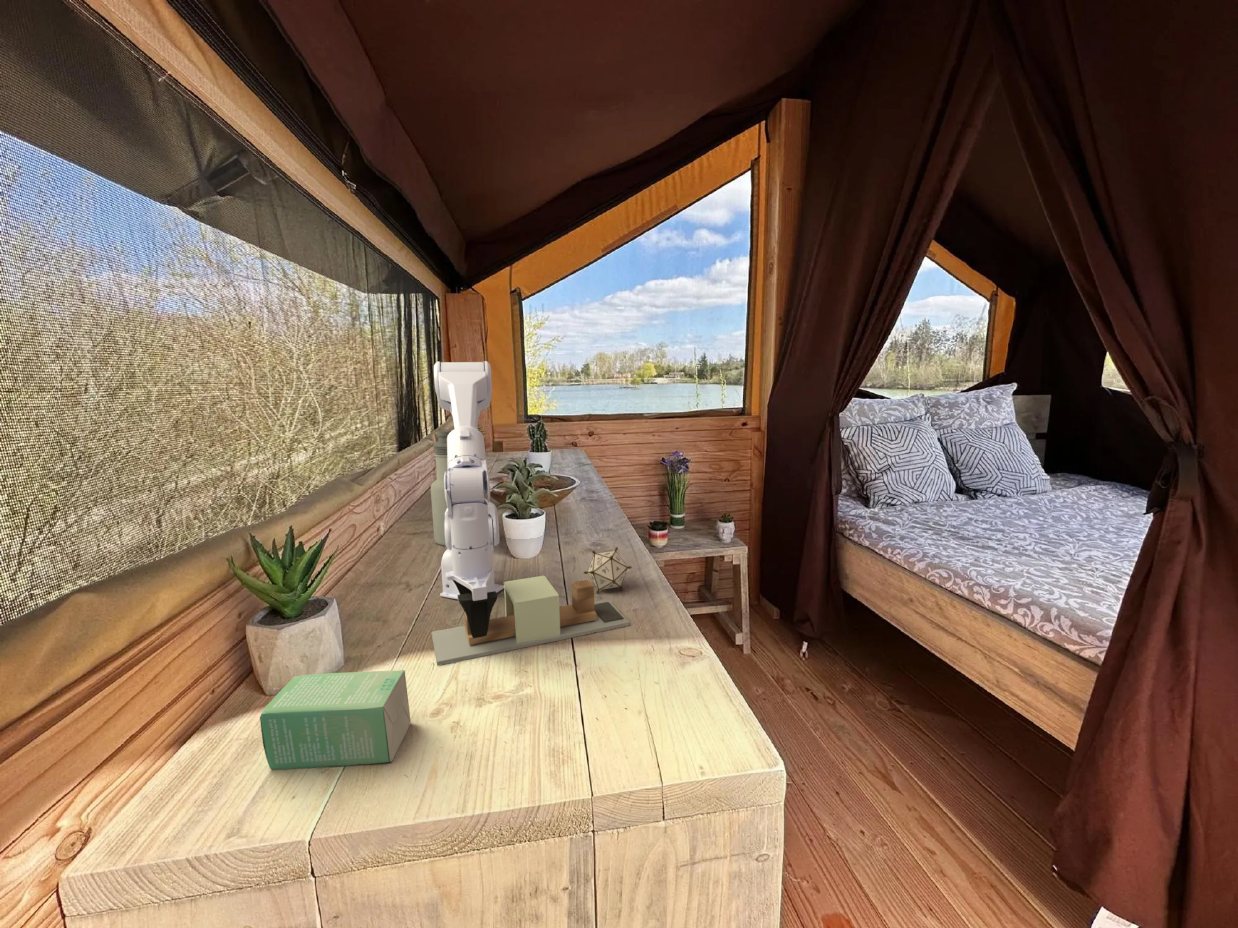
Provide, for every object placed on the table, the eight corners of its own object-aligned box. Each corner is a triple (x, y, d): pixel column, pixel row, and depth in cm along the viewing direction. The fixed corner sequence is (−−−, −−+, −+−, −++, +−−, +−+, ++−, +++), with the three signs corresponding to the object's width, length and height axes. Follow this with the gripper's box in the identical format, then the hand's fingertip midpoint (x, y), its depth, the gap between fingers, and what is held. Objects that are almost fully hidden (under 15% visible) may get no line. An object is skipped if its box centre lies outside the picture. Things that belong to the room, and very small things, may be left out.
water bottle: (445, 533, 143) (438, 427, 138) (481, 534, 142) (475, 427, 137) (427, 546, 133) (418, 432, 128) (465, 547, 132) (458, 432, 127)
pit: (604, 622, 92) (604, 621, 91) (590, 606, 98) (590, 605, 98) (623, 618, 93) (623, 617, 93) (608, 602, 99) (608, 601, 99)
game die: (614, 610, 106) (624, 583, 99) (574, 592, 107) (581, 564, 100) (630, 574, 112) (640, 547, 105) (592, 558, 113) (600, 529, 106)
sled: (469, 645, 84) (467, 610, 83) (465, 630, 89) (462, 597, 88) (596, 619, 92) (596, 588, 91) (586, 607, 97) (586, 577, 95)
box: (299, 727, 67) (292, 671, 65) (411, 722, 67) (407, 667, 66) (264, 771, 59) (255, 710, 58) (391, 766, 60) (385, 705, 59)
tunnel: (517, 647, 85) (515, 602, 84) (505, 622, 93) (503, 581, 92) (560, 638, 88) (559, 595, 86) (545, 615, 96) (544, 575, 94)
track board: (437, 665, 80) (436, 661, 80) (431, 635, 89) (431, 631, 89) (629, 625, 92) (629, 622, 92) (607, 602, 101) (607, 599, 101)
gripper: (439, 533, 89) (445, 611, 92) (448, 562, 76) (454, 652, 78) (483, 528, 92) (487, 603, 94) (499, 555, 79) (503, 642, 81)
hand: (475, 625), depth 86 cm, fingers open, 7 cm apart
